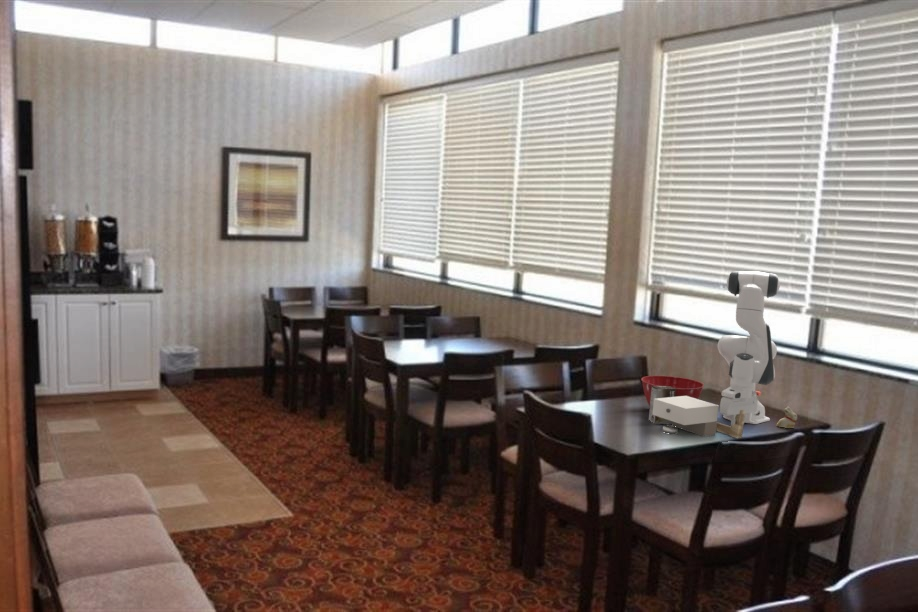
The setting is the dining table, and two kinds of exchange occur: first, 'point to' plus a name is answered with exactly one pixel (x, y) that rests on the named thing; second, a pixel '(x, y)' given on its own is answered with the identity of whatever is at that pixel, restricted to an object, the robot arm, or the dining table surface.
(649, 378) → the mixing bowl
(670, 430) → the steel token
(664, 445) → the dining table surface
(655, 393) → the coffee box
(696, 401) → the cabinet
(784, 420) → the chocolate bunny
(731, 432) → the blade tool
